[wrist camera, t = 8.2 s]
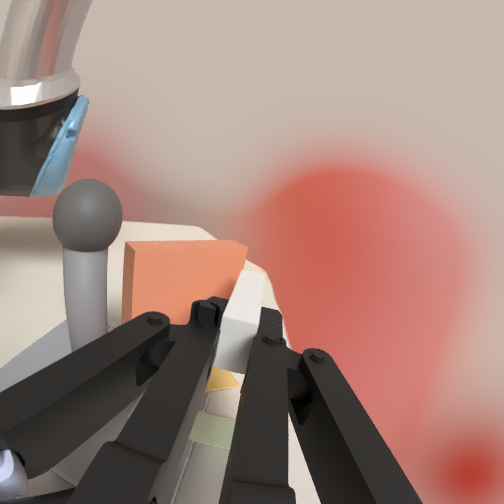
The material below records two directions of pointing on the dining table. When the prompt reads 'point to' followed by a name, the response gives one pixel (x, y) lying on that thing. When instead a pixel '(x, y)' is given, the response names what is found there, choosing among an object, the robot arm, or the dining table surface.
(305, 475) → the dining table surface
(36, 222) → the dining table surface
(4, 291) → the dining table surface
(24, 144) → the robot arm
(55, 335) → the grey flat block
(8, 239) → the dining table surface
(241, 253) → the lever
